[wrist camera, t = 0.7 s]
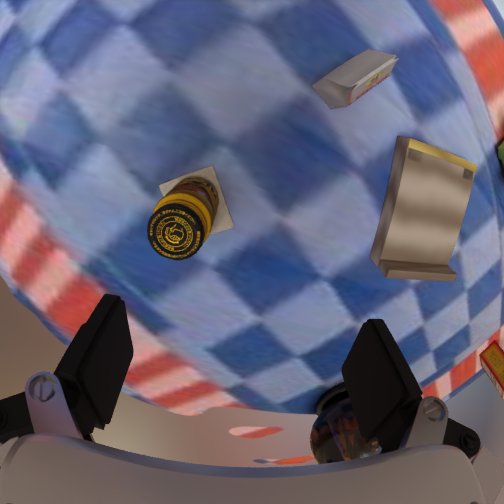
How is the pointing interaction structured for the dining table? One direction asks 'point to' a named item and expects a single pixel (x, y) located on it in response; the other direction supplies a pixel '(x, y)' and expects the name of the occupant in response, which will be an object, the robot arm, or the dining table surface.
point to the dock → (422, 212)
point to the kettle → (501, 152)
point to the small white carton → (354, 78)
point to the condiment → (188, 214)
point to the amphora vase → (338, 430)
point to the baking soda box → (494, 365)
